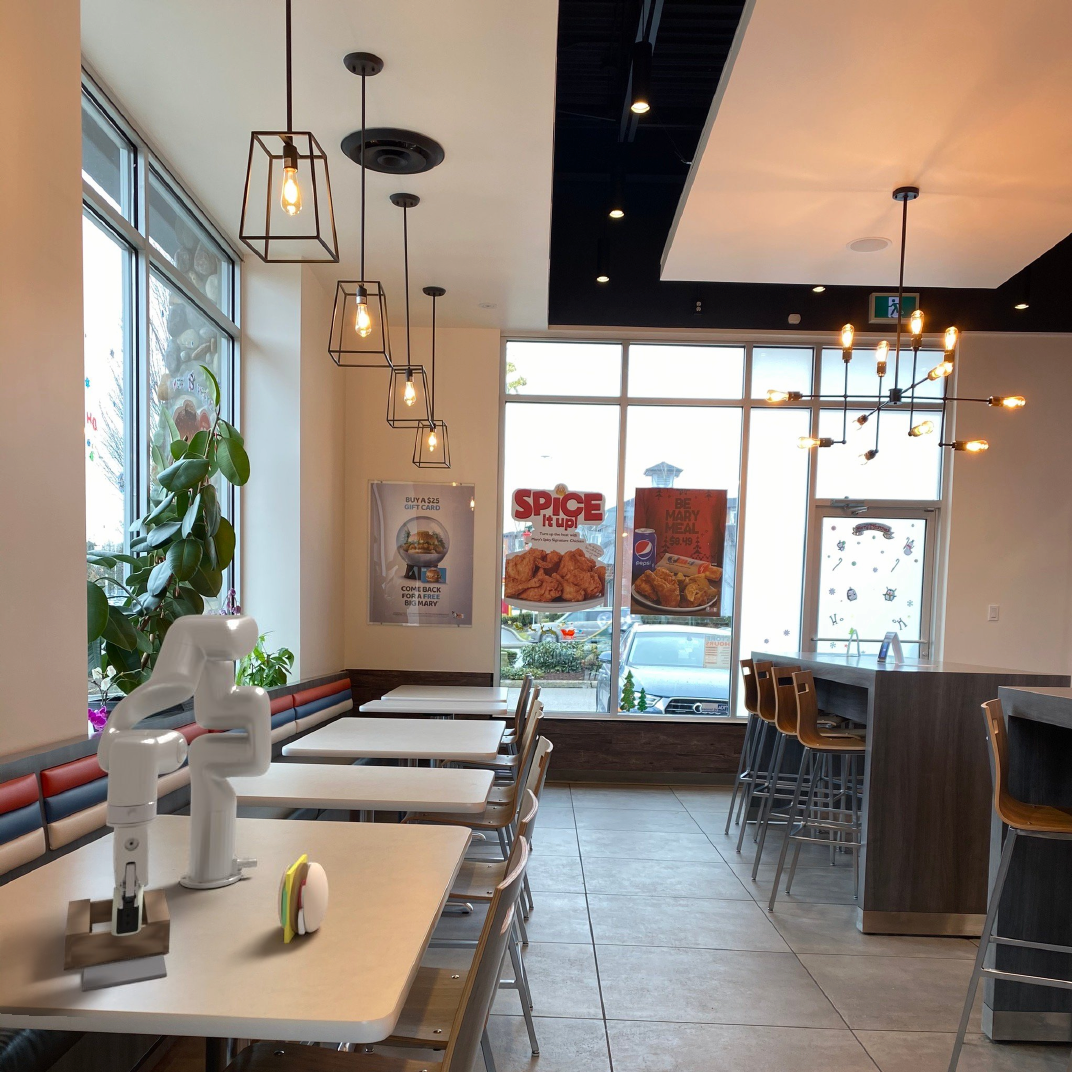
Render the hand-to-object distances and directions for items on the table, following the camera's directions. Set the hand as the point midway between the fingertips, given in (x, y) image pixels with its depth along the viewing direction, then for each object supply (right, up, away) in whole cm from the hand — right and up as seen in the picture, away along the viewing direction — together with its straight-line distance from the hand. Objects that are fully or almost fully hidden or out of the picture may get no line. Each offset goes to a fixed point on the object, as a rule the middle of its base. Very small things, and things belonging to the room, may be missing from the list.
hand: (126, 925), depth 138 cm
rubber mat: (0, -8, 0) cm, 8 cm away
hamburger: (+24, -10, +18) cm, 32 cm away
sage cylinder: (0, -1, 0) cm, 1 cm away
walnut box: (-8, -9, +12) cm, 17 cm away
